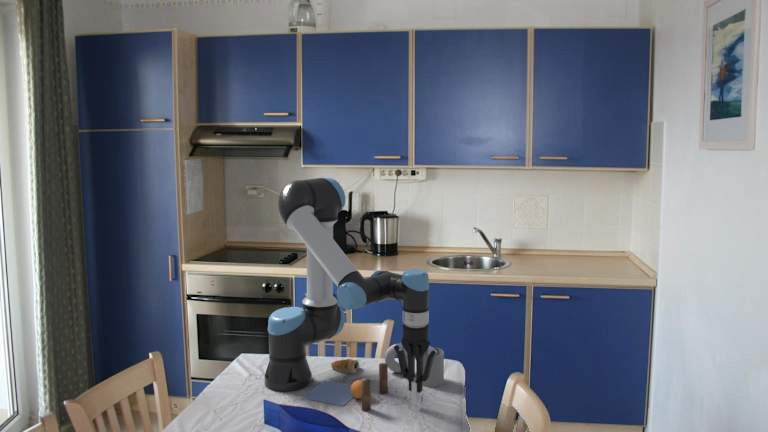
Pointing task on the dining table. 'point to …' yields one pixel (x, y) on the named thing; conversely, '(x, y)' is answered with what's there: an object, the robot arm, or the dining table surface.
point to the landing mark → (331, 393)
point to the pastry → (346, 365)
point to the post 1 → (365, 394)
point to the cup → (435, 369)
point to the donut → (393, 359)
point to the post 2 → (383, 378)
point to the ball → (356, 389)
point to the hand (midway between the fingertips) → (415, 401)
